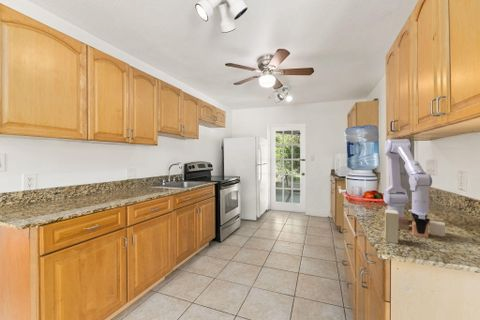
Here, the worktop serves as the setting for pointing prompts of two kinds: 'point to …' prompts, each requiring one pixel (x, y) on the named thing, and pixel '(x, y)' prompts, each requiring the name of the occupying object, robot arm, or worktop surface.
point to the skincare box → (391, 226)
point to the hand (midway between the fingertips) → (420, 231)
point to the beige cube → (437, 228)
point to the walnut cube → (403, 223)
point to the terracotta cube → (415, 233)
